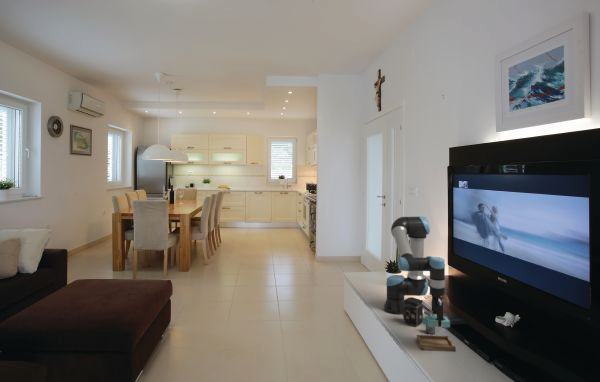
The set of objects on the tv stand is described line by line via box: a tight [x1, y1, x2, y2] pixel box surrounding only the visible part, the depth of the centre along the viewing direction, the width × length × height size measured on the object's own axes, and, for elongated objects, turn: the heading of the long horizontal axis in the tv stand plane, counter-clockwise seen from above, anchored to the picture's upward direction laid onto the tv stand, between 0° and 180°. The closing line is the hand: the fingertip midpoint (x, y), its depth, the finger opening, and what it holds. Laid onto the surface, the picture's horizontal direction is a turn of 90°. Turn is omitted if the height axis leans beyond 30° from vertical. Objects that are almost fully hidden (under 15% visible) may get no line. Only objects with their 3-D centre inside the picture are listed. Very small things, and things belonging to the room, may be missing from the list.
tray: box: [416, 334, 456, 352], centre depth 191 cm, size 13×17×2 cm
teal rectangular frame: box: [422, 315, 451, 328], centre depth 191 cm, size 13×7×3 cm, turn 83°
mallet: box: [424, 310, 436, 336], centre depth 206 cm, size 5×6×12 cm
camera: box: [402, 296, 424, 327], centre depth 220 cm, size 10×11×15 cm
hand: (437, 328), depth 191 cm, fingers closed on teal rectangular frame, 7 cm apart
